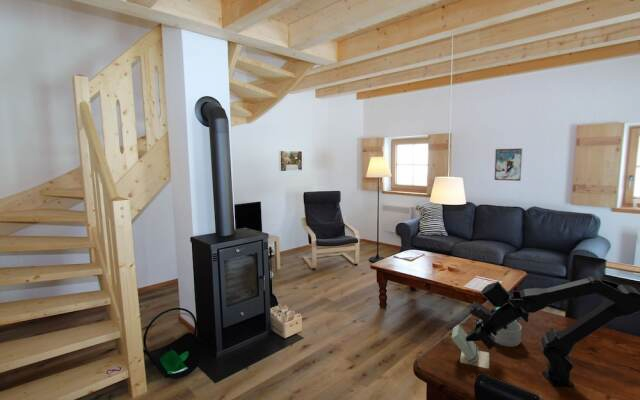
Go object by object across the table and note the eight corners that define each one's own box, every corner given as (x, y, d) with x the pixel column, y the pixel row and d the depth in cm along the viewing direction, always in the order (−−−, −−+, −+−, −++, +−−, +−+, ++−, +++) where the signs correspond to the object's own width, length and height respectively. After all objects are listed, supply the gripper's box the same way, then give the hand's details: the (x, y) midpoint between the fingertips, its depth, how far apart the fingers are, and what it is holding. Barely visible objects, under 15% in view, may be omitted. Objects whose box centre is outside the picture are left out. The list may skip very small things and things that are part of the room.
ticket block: (488, 356, 124) (489, 352, 123) (488, 372, 115) (489, 368, 114) (461, 350, 127) (462, 347, 127) (459, 366, 119) (460, 362, 118)
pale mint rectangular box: (478, 347, 124) (459, 324, 126) (477, 359, 117) (457, 334, 118) (471, 350, 125) (453, 327, 127) (470, 362, 118) (451, 338, 119)
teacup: (513, 355, 124) (514, 334, 123) (483, 342, 132) (484, 323, 131) (528, 341, 133) (529, 321, 132) (499, 330, 141) (500, 312, 140)
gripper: (485, 287, 125) (452, 310, 131) (485, 308, 108) (447, 333, 115) (508, 311, 123) (473, 334, 129) (512, 337, 106) (471, 361, 112)
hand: (466, 339), depth 121 cm, fingers closed, pressing on pale mint rectangular box
